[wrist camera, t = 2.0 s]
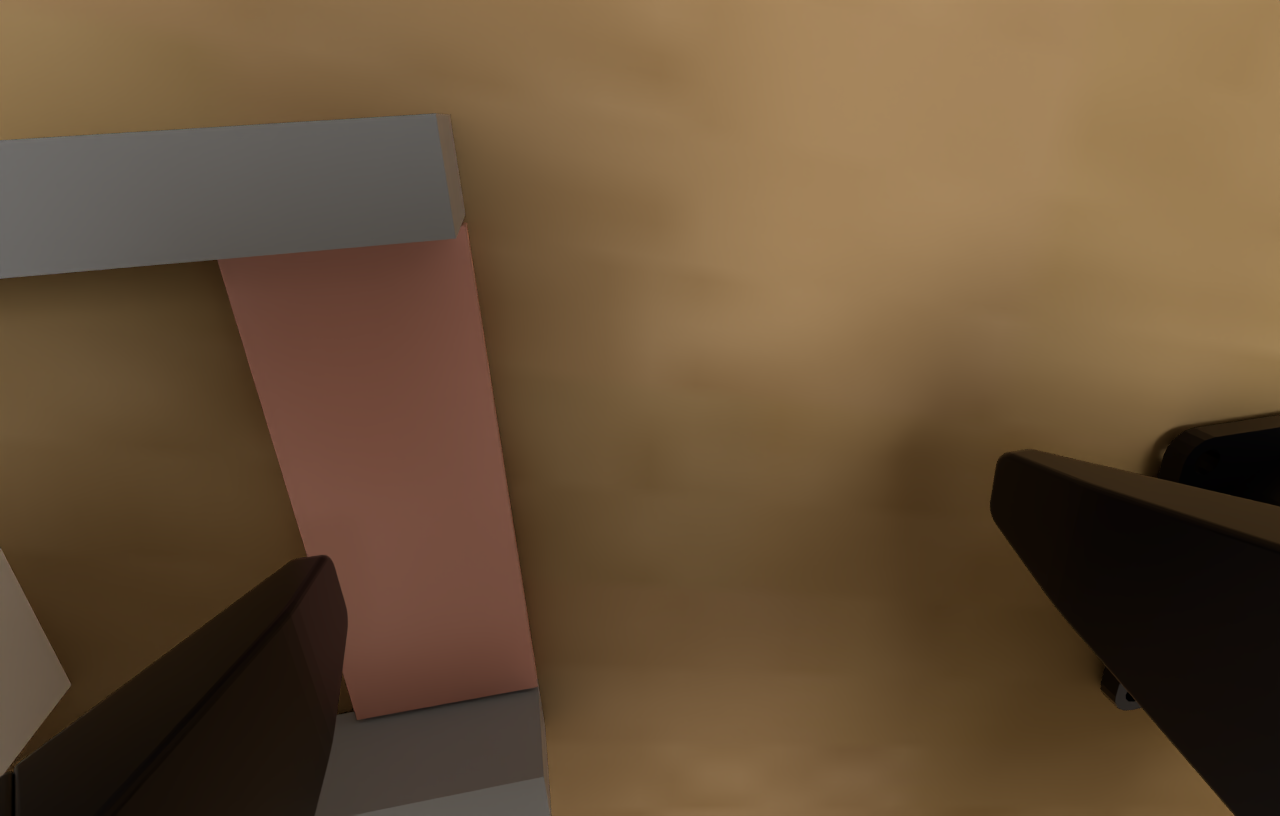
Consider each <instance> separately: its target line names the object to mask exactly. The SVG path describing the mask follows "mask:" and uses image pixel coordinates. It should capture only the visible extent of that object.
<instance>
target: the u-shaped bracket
mask: <svg viewBox="0 0 1280 816" xmlns="http://www.w3.org/2000/svg"><path fill="white" fill-rule="evenodd" d="M464 217H465V208H464V201H463V195H462V189H461V182H460V176H459V169H458V163H457V156H456V150H455V144H454V137H453V131H452V124H451V118H450V115H448V114H436V113H435V114H419V115H403V116H387V117H371V118H354V119H338V120H322V121H306V122H290V123H274V124H257V125H241V126H225V127H209V128H193V129H177V130H161V131H144V132H128V133H112V134H96V135H80V136H64V137H47V138H31V139H15V140H0V279H2V278H13V277H25V276H36V275H48V274H59V273H70V272H82V271H93V270H104V269H116V268H127V267H139V266H150V265H161V264H173V263H184V262H195V261H207V260H217V261H218V264H219V268H220V271H221V274H222V278H223V281H224V284H225V288H226V291H227V294H228V297H229V301H230V304H231V307H232V311H233V314H234V317H235V320H236V324H237V327H238V330H239V334H240V337H241V340H242V343H243V347H244V350H245V353H246V357H247V360H248V363H249V366H250V370H251V373H252V376H253V380H254V383H255V386H256V390H257V393H258V396H259V399H260V403H261V406H262V409H263V413H264V416H265V419H266V422H267V426H268V429H269V432H270V436H271V439H272V442H273V445H274V449H275V452H276V455H277V459H278V462H279V465H280V468H281V472H282V475H283V478H284V482H285V485H286V488H287V492H288V495H289V498H290V501H291V505H292V508H293V511H294V515H295V518H296V521H297V524H298V528H299V531H300V534H301V538H302V541H303V544H304V547H305V551H306V554H307V557H310V556H317V555H327V556H329V557H330V558H331V560H332V561H333V563H334V566H335V569H336V573H337V576H338V580H339V583H340V587H341V590H342V594H343V597H344V601H345V604H346V608H347V613H348V631H347V639H346V647H345V655H344V662H343V670H342V672H343V676H344V679H345V682H346V686H347V689H348V692H349V695H350V699H351V702H352V705H353V709H354V712H350V713H345V714H339V715H337V717H336V724H335V731H334V737H333V743H332V748H331V752H330V757H329V761H328V766H327V770H326V774H325V777H324V781H323V785H322V789H321V793H320V797H319V801H318V805H317V809H316V813H315V816H552V815H551V800H550V786H549V772H548V758H547V743H546V729H545V722H544V716H543V709H542V703H541V696H540V690H539V683H538V678H537V671H536V664H535V658H534V651H533V645H532V638H531V632H530V626H529V619H528V613H527V606H526V600H525V593H524V587H523V581H522V574H521V568H520V561H519V555H518V548H517V542H516V536H515V529H514V523H513V516H512V510H511V503H510V497H509V491H508V484H507V478H506V471H505V465H504V458H503V452H502V446H501V439H500V433H499V426H498V420H497V413H496V407H495V401H494V394H493V388H492V381H491V375H490V368H489V362H488V356H487V349H486V343H485V336H484V330H483V323H482V317H481V311H480V304H479V298H478V291H477V285H476V279H475V272H474V266H473V259H472V253H471V246H470V240H469V234H468V227H467V222H463V220H464ZM462 222H463V223H462Z"/></svg>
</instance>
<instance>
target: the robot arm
mask: <svg viewBox="0 0 1280 816" xmlns="http://www.w3.org/2000/svg"><path fill="white" fill-rule="evenodd" d="M990 511H991V515H992V518H993V520H994V522H995V523H996V525H997V526H998V528H999V529H1000V530H1001V532H1002V533H1003V535H1004V536H1005V538H1006V539H1007V540H1008V542H1009V543H1010V545H1011V546H1012V547H1013V549H1014V550H1015V552H1016V553H1017V554H1018V556H1019V557H1020V559H1021V560H1022V561H1023V563H1024V564H1025V566H1026V567H1027V568H1028V570H1029V571H1030V573H1031V574H1032V576H1033V577H1034V578H1035V580H1036V581H1037V583H1038V584H1039V585H1040V587H1041V588H1042V590H1043V591H1044V592H1045V594H1046V595H1047V596H1048V598H1049V599H1050V600H1051V602H1052V603H1053V604H1054V606H1055V607H1056V608H1057V610H1058V611H1059V612H1060V613H1061V614H1062V616H1063V617H1064V618H1065V619H1066V621H1067V622H1068V623H1069V624H1070V625H1071V626H1072V628H1073V629H1074V630H1075V631H1076V632H1077V633H1078V635H1079V636H1080V637H1081V638H1082V639H1083V640H1084V642H1085V643H1086V644H1087V645H1088V646H1089V647H1090V648H1091V650H1092V651H1093V652H1094V653H1095V654H1096V655H1097V657H1098V658H1099V659H1100V660H1101V661H1102V662H1103V664H1104V665H1105V669H1104V673H1103V676H1102V680H1101V687H1100V689H1101V691H1102V693H1103V694H1104V695H1105V696H1106V697H1107V698H1108V699H1109V700H1110V701H1111V702H1112V703H1113V704H1114V705H1116V706H1117V707H1118V708H1119V709H1122V710H1134V709H1138V708H1142V709H1143V710H1144V711H1145V712H1146V713H1147V715H1148V716H1149V717H1150V718H1151V719H1152V720H1153V722H1154V723H1155V724H1156V725H1157V726H1158V727H1159V728H1160V730H1161V731H1162V732H1163V733H1164V734H1165V735H1166V737H1167V738H1168V739H1169V740H1170V741H1171V742H1172V744H1173V745H1174V746H1175V747H1176V748H1177V749H1178V750H1179V752H1180V753H1181V754H1182V755H1183V756H1184V757H1185V759H1186V760H1187V761H1188V762H1189V763H1190V764H1191V766H1192V767H1193V768H1194V769H1195V770H1196V771H1197V773H1198V774H1199V775H1200V776H1201V777H1202V778H1203V779H1204V781H1205V782H1206V783H1207V784H1208V785H1209V786H1210V788H1211V789H1212V790H1213V791H1214V792H1215V793H1216V795H1217V796H1218V797H1219V798H1220V799H1221V800H1222V802H1223V803H1224V804H1225V805H1226V806H1227V807H1228V808H1229V810H1230V811H1231V812H1232V813H1233V814H1234V815H1235V816H1280V415H1276V416H1270V417H1263V418H1256V419H1250V420H1243V421H1236V422H1230V423H1223V424H1216V425H1210V426H1203V427H1196V428H1192V429H1189V430H1186V431H1184V432H1183V433H1181V434H1180V435H1178V436H1177V437H1175V439H1174V440H1173V441H1172V442H1171V443H1170V444H1169V446H1168V447H1167V449H1166V452H1165V454H1164V456H1163V460H1162V463H1161V467H1160V470H1159V474H1158V478H1154V477H1149V476H1145V475H1141V474H1137V473H1132V472H1128V471H1124V470H1119V469H1115V468H1111V467H1106V466H1102V465H1098V464H1093V463H1089V462H1085V461H1081V460H1076V459H1072V458H1068V457H1063V456H1059V455H1055V454H1050V453H1046V452H1042V451H1037V450H1032V449H1026V450H1020V451H1013V452H1008V453H1004V454H1003V455H1002V456H1000V458H999V459H998V461H997V464H996V470H995V476H994V482H993V488H992V494H991V500H990ZM347 631H348V613H347V608H346V604H345V601H344V597H343V594H342V590H341V587H340V583H339V580H338V576H337V573H336V569H335V566H334V563H333V561H332V560H331V558H330V557H329V556H327V555H317V556H310V557H303V558H296V559H293V560H291V561H290V562H288V563H287V564H286V565H284V566H283V567H282V568H280V569H279V570H278V571H276V572H275V573H274V574H272V575H271V576H270V577H268V578H267V579H265V580H264V581H263V582H261V583H260V584H259V585H257V586H256V587H255V588H253V589H252V590H251V591H249V592H248V593H247V594H245V595H244V596H243V597H241V598H240V599H239V600H237V601H236V602H235V603H233V604H232V605H231V606H229V607H228V608H227V609H225V610H224V611H222V612H221V613H220V614H218V615H217V616H216V617H214V618H213V619H212V620H210V621H209V622H208V623H206V624H205V625H204V626H202V627H201V628H200V629H198V630H197V631H196V632H194V633H193V634H192V635H190V636H189V637H188V638H186V639H185V640H184V641H182V642H181V643H179V644H178V645H177V646H175V647H174V648H173V649H171V650H170V651H169V652H167V653H166V654H165V655H163V656H162V657H161V658H159V659H158V660H157V661H155V662H154V663H153V664H151V665H150V666H149V667H147V668H146V669H145V670H143V671H142V672H141V673H139V674H138V675H136V676H135V677H134V678H132V679H131V680H130V681H128V682H127V683H126V684H124V685H123V686H122V687H120V688H119V689H118V690H116V691H115V692H114V693H112V694H111V695H110V696H108V697H107V698H106V699H104V700H103V701H102V702H100V703H99V704H98V705H96V706H95V707H93V708H92V709H91V710H89V711H88V712H87V713H85V714H84V715H83V716H81V717H80V718H79V719H77V720H76V721H75V722H73V723H72V724H71V725H69V726H68V727H67V728H65V729H64V730H63V731H61V732H60V733H59V734H57V735H56V736H55V737H53V738H52V739H50V740H49V741H48V742H46V743H45V744H44V745H42V746H41V747H40V748H38V749H37V750H36V751H34V752H33V753H32V754H30V755H29V756H28V757H26V758H25V759H24V760H22V761H21V762H20V763H18V764H17V765H16V766H15V768H14V773H12V772H7V773H5V774H3V775H2V776H0V816H315V813H316V809H317V805H318V801H319V797H320V793H321V789H322V785H323V781H324V777H325V774H326V770H327V766H328V761H329V757H330V752H331V748H332V743H333V737H334V731H335V724H336V717H337V709H338V701H339V694H340V686H341V678H342V670H343V662H344V655H345V647H346V639H347Z"/></svg>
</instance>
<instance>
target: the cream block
mask: <svg viewBox="0 0 1280 816" xmlns="http://www.w3.org/2000/svg"><path fill="white" fill-rule="evenodd" d="M70 686H71V683H70V681H69V679H68V677H67V675H66V673H65V671H64V669H63V667H62V666H61V664H60V662H59V660H58V658H57V656H56V654H55V652H54V650H53V648H52V646H51V644H50V642H49V640H48V638H47V636H46V635H45V633H44V631H43V629H42V627H41V625H40V623H39V621H38V619H37V617H36V615H35V613H34V611H33V609H32V607H31V605H30V604H29V602H28V600H27V598H26V596H25V594H24V592H23V590H22V588H21V586H20V584H19V582H18V580H17V578H16V576H15V574H14V573H13V571H12V569H11V567H10V565H9V563H8V561H7V559H6V557H5V555H4V553H3V551H2V549H1V547H0V776H2V775H3V774H4V773H5V772H6V770H7V769H8V768H9V766H10V765H11V764H12V762H13V761H14V760H15V758H16V757H17V756H18V755H19V753H20V752H21V751H22V749H23V748H24V747H25V745H26V744H27V743H28V741H29V740H30V739H31V737H32V736H33V735H34V734H35V732H36V731H37V730H38V728H39V727H40V726H41V724H42V723H43V722H44V720H45V719H46V718H47V716H48V715H49V714H50V713H51V711H52V710H53V709H54V707H55V706H56V705H57V703H58V702H59V701H60V699H61V698H62V697H63V695H64V694H65V693H66V692H67V690H68V689H69V688H70Z"/></svg>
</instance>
